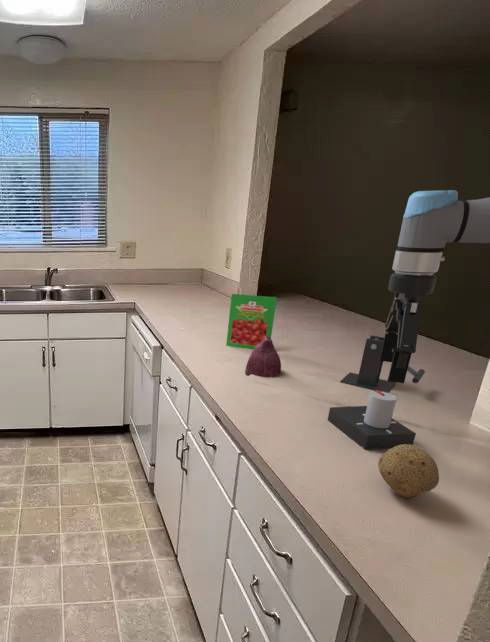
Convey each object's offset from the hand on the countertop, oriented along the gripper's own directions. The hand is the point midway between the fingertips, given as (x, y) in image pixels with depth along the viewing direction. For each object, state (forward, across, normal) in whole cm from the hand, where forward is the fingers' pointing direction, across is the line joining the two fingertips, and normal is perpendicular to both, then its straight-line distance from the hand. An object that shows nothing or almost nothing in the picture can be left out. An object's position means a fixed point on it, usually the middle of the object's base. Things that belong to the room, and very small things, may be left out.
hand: (390, 371), depth 95 cm
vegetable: (+16, +31, +27) cm, 44 cm away
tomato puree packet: (+16, +56, +35) cm, 68 cm away
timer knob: (+13, 0, 0) cm, 13 cm away
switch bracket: (+16, +33, -1) cm, 37 cm away
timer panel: (+16, +2, +1) cm, 17 cm away
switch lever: (+8, +32, -6) cm, 33 cm away
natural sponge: (+17, -22, -2) cm, 28 cm away
